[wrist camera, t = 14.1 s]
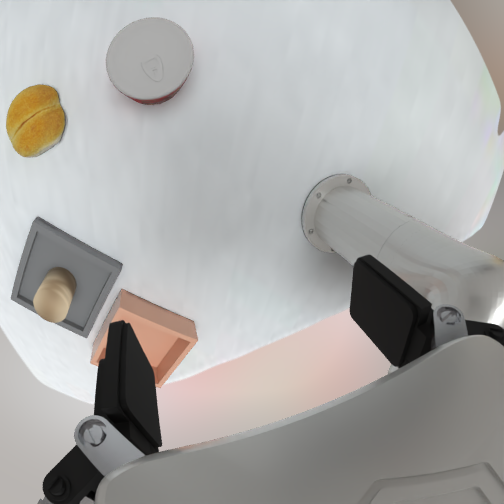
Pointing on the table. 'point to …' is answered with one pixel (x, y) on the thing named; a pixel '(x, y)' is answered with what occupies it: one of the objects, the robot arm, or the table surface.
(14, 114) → the bread roll
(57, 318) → the beech cylinder
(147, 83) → the canned food
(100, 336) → the salmon square tray
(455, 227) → the table surface
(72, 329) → the charcoal tray
